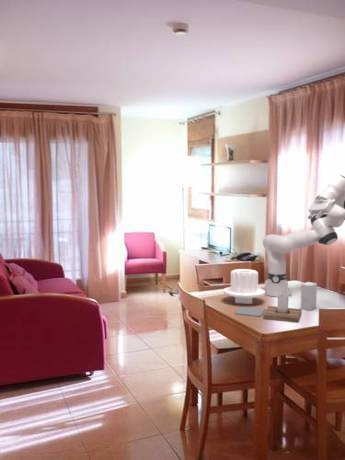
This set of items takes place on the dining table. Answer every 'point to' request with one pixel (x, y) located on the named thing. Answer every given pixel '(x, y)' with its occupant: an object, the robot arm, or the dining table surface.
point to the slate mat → (250, 311)
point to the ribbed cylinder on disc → (244, 286)
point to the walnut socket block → (282, 314)
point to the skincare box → (308, 296)
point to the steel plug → (282, 304)
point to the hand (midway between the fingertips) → (312, 218)
